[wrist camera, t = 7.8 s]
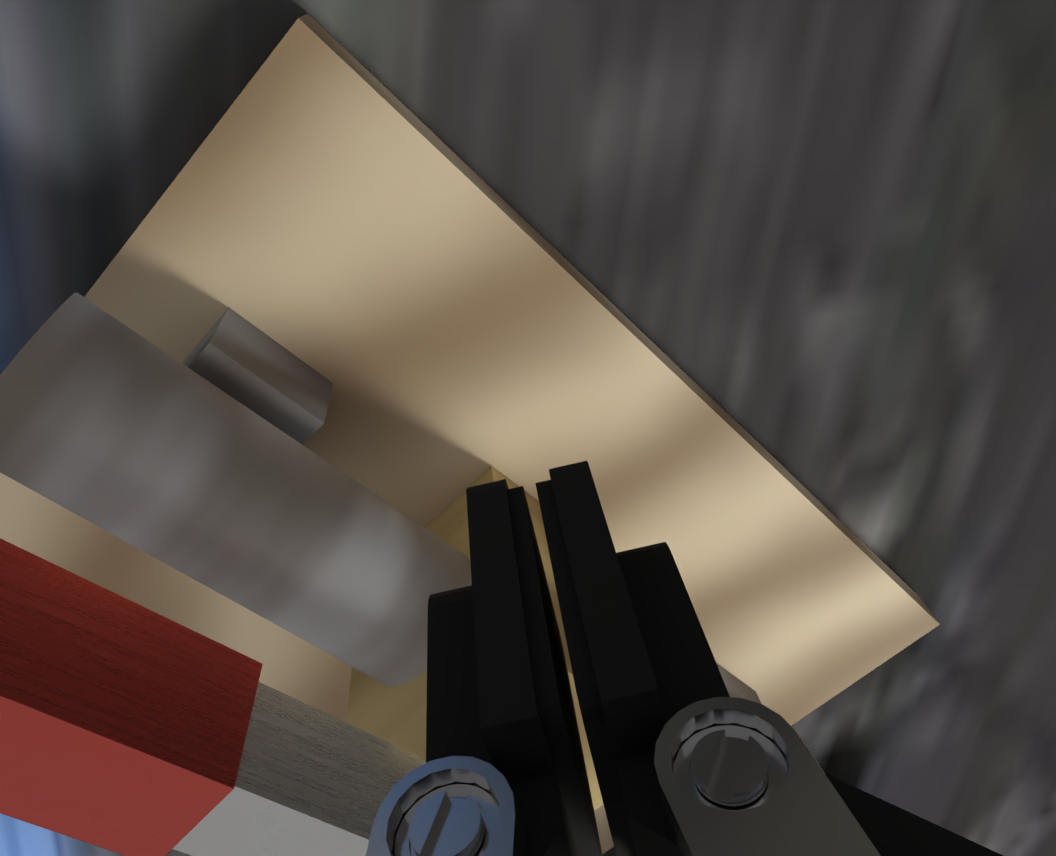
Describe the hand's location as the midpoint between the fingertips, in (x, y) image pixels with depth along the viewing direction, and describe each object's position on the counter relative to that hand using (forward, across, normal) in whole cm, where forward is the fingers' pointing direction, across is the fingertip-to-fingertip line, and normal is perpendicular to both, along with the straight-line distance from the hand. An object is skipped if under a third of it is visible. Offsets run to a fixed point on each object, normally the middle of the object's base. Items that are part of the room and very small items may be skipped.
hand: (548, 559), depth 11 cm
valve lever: (+2, +5, +4) cm, 7 cm away
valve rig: (+11, +2, +8) cm, 14 cm away
